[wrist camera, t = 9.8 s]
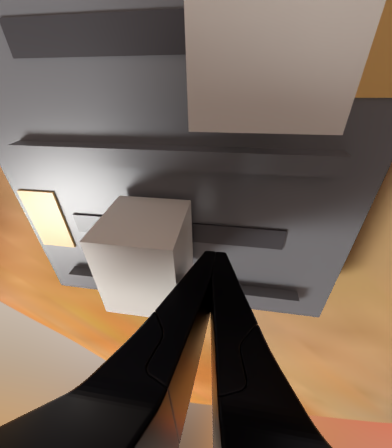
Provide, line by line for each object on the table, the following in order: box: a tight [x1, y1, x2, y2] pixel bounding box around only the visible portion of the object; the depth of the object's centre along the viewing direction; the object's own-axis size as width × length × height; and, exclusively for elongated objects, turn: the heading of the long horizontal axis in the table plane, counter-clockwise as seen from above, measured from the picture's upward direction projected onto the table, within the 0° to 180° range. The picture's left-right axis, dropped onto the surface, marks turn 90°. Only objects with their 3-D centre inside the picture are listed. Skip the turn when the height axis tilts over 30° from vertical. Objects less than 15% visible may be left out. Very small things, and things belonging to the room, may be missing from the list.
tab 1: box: [80, 196, 193, 317], centre depth 10 cm, size 3×4×3 cm
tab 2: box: [184, 0, 386, 135], centre depth 5 cm, size 3×4×3 cm
